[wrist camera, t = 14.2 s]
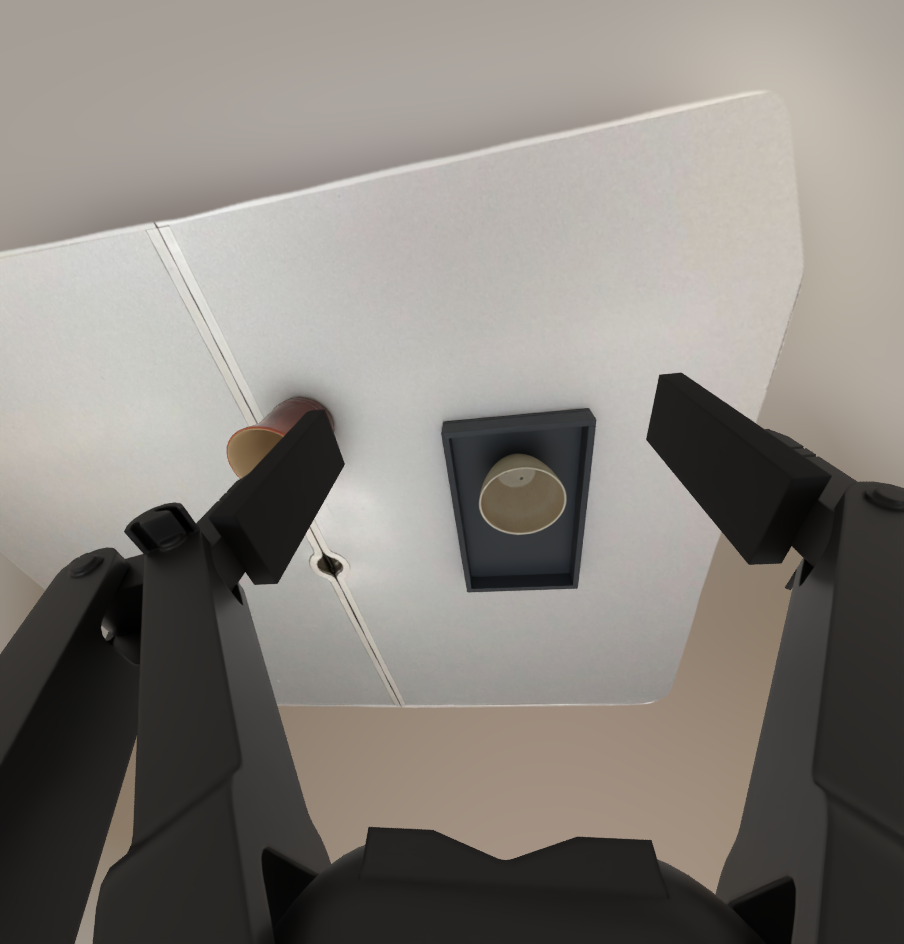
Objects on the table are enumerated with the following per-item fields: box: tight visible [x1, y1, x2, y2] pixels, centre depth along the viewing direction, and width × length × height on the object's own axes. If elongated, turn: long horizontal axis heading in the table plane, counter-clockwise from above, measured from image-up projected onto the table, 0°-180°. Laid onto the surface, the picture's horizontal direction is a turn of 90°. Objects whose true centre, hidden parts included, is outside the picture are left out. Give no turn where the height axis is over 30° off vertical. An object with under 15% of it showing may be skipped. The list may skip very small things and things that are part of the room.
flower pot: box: [479, 454, 566, 535], centre depth 43 cm, size 10×10×7 cm
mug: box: [227, 397, 334, 479], centre depth 41 cm, size 12×9×10 cm
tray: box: [441, 408, 596, 592], centre depth 50 cm, size 30×18×3 cm, turn 7°
